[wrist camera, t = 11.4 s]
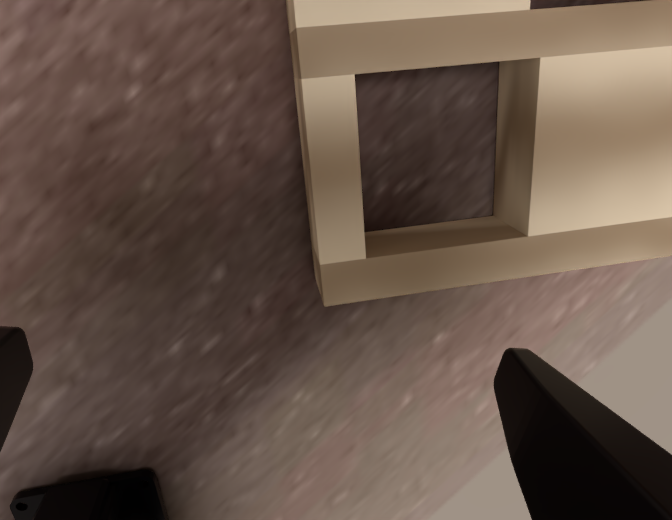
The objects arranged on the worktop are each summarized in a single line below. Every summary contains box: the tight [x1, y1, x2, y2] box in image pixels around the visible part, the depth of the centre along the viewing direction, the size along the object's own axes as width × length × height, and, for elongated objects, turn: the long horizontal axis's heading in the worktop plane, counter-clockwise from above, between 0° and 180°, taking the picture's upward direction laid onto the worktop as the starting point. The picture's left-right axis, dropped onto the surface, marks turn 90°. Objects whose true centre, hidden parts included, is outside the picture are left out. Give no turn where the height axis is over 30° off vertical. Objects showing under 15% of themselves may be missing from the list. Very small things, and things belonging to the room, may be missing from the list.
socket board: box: [286, 0, 672, 307], centre depth 18 cm, size 18×16×3 cm
